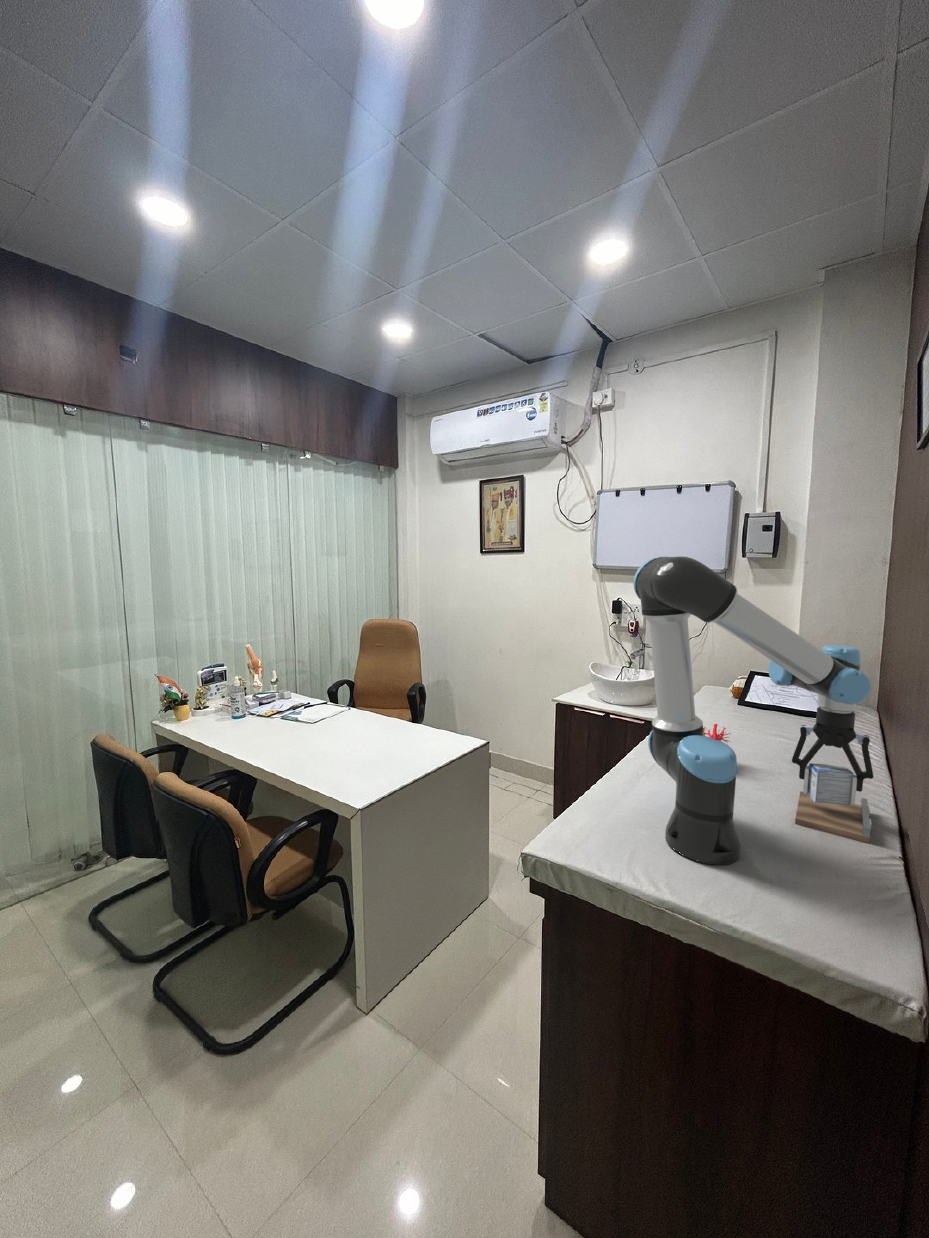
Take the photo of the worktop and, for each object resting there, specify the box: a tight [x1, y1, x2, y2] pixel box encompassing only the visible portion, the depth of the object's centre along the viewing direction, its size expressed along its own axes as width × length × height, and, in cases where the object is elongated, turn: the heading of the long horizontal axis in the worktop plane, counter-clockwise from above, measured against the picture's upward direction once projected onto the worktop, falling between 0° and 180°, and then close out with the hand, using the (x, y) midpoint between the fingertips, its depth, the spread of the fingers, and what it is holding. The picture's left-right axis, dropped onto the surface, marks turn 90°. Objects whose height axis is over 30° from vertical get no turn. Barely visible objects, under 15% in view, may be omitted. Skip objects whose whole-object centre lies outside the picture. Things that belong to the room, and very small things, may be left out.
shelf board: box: [794, 791, 872, 844], centre depth 123 cm, size 18×14×4 cm
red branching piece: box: [703, 723, 732, 744], centre depth 155 cm, size 10×12×12 cm
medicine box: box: [807, 762, 855, 805], centre depth 123 cm, size 8×4×9 cm, turn 78°
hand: (828, 796), depth 123 cm, fingers closed on medicine box, 9 cm apart
